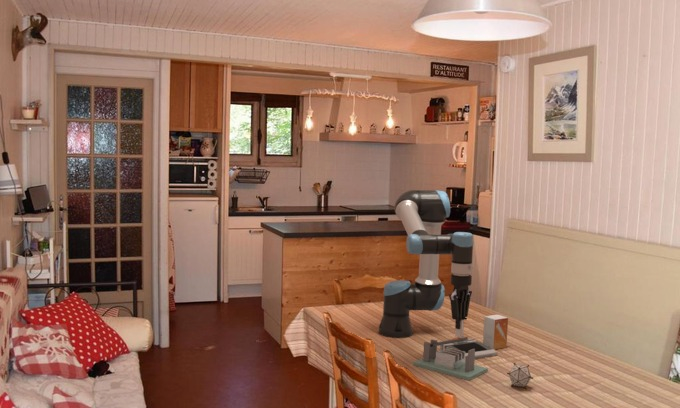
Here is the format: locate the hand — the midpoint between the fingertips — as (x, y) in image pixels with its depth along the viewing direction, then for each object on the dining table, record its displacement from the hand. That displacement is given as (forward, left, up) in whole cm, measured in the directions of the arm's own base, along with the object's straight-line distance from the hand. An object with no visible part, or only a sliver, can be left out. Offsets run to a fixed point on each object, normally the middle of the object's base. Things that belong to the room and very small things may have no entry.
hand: (459, 336), depth 248 cm
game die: (+25, 0, -13) cm, 28 cm away
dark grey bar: (-5, 0, -4) cm, 6 cm away
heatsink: (-3, 0, -13) cm, 13 cm away
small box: (-4, +38, -13) cm, 41 cm away
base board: (-3, 0, -13) cm, 13 cm away
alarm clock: (-8, +23, -14) cm, 28 cm away
